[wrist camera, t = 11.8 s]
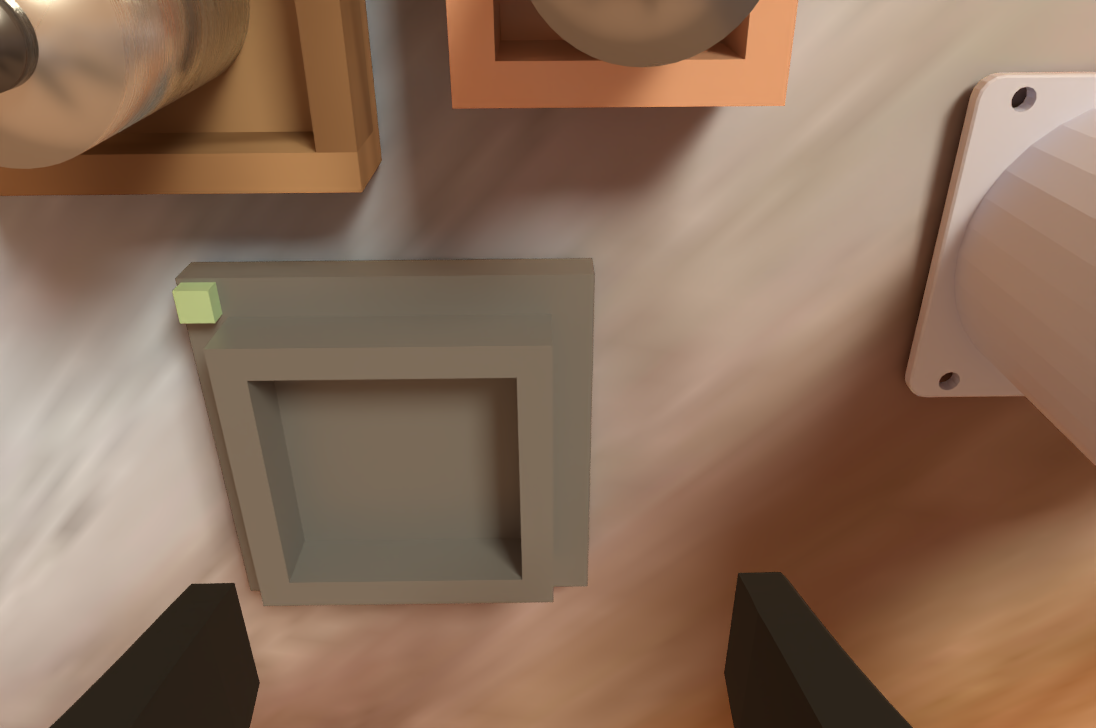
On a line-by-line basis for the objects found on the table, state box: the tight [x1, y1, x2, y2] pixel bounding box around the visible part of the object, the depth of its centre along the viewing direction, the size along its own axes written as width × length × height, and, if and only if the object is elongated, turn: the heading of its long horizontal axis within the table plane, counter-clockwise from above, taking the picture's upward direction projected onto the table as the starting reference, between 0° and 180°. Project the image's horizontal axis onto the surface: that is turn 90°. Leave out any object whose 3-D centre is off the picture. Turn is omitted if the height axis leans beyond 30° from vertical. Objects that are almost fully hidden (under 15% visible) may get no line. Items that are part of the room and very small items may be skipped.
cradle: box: [172, 258, 595, 606], centre depth 21 cm, size 10×10×3 cm
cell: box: [0, 0, 250, 169], centre depth 13 cm, size 4×4×6 cm
